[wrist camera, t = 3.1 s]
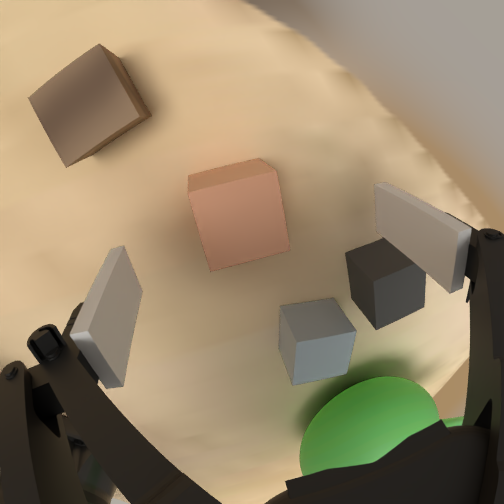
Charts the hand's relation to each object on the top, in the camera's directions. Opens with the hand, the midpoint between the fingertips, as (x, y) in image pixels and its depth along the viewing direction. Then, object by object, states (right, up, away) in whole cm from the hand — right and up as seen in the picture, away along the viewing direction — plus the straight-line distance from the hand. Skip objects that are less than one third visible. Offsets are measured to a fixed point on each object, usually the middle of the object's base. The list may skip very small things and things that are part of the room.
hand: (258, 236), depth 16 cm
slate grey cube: (+5, -7, +13) cm, 16 cm away
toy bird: (+13, -20, +21) cm, 31 cm away
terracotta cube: (-2, +3, +7) cm, 8 cm away
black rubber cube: (+11, -2, +12) cm, 16 cm away
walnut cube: (-10, +9, +2) cm, 14 cm away
